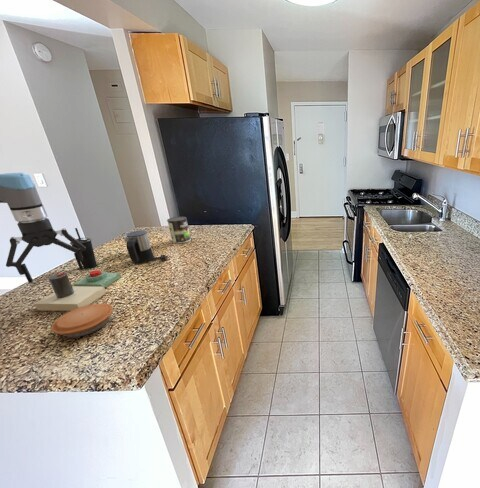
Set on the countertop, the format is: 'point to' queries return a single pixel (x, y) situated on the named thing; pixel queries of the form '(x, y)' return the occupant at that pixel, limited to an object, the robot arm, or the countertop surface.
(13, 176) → the robot arm
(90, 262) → the drinking cup
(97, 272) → the button
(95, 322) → the pie
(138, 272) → the countertop surface
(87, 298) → the hob console
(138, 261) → the milk frother
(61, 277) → the hob knob
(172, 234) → the coffee can
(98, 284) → the red push button panel
